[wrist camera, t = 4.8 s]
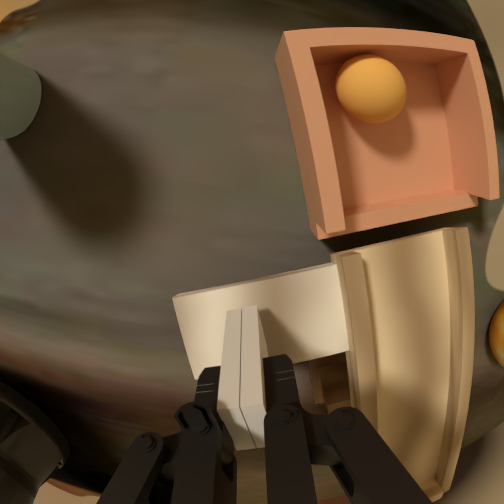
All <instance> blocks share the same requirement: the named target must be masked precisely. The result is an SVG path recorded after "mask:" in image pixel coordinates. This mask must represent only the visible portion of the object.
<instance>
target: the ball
mask: <svg viewBox="0 0 504 504" xmlns="http://www.w3.org/2000/svg"><path fill="white" fill-rule="evenodd" d="M335 89H336V94H337V97H338V100H339V102H340V103H341V105H342V106H343V108H344V109H345V110H346V111H347V112H348V113H349V114H350V115H352V116H353V117H355V118H356V119H358V120H361V121H364V122H368V123H382V122H386V121H388V120H390V119H392V118H394V117H395V116H396V115H397V114H398V113H399V112H400V111H401V110H402V108H403V106H404V104H405V101H406V84H405V81H404V79H403V76H402V75H401V73H400V71H399V70H398V69H397V68H396V67H395V66H394V65H393V64H392V63H391V62H389V61H388V60H386V59H384V58H382V57H379V56H376V55H369V54H365V55H358V56H355V57H353V58H351V59H349V60H348V61H346V62H345V63H344V64H343V65H342V66H341V68H340V69H339V71H338V73H337V76H336V81H335Z"/></svg>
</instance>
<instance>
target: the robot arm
mask: <svg viewBox="0 0 504 504" xmlns="http://www.w3.org/2000/svg"><path fill="white" fill-rule="evenodd" d="M197 385H198V386H197V389H196V395H195V401H194V402H190V403H187V404H185V405H183V406H181V407H180V408H179V409H178V410H177V411H176V413H175V416H174V417H175V418H176V420H177V422H178V423H179V425H180V426H181V428H182V431H180V432H178V433H176V434H173V435H170V436H166V437H163V438H162V437H161V436H160V435H159V434H157V433H155V432H147V433H143V434H141V435H139V436H138V437H136V438H135V440H134V441H133V442H132V444H131V446H130V447H129V449H128V451H127V452H126V454H125V456H124V457H123V459H122V461H121V463H120V464H119V466H118V468H117V469H116V471H115V473H114V475H113V476H112V478H111V480H110V481H109V483H108V485H107V486H106V488H105V490H104V492H103V493H102V495H101V497H100V499H99V500H98V502H97V504H236V493H237V461H236V457H235V455H234V454H233V453H234V446H235V448H236V450H246V449H255V448H256V447H257V448H262V447H265V461H266V481H267V501H268V504H317V498H316V492H315V486H314V480H313V474H312V468H311V464H316V465H329V466H330V467H331V469H332V471H333V473H334V474H335V476H336V478H337V480H338V481H339V483H340V485H341V486H342V488H343V490H344V492H345V493H346V495H347V496H348V498H349V500H350V502H351V503H352V504H433V503H432V502H431V500H430V499H429V498H428V496H427V495H426V494H425V493H424V491H423V490H422V489H421V488H420V486H419V485H418V484H417V482H416V481H415V480H414V479H413V477H412V476H411V475H410V473H409V472H408V471H407V470H406V468H405V467H404V466H403V464H402V463H401V462H400V461H399V459H398V458H397V457H396V455H395V454H394V453H393V452H392V450H391V449H390V448H389V446H388V445H387V444H386V443H385V441H384V440H383V439H382V437H381V436H380V435H379V434H378V432H377V431H376V430H375V428H374V427H373V426H372V424H371V423H370V422H369V421H368V419H367V418H366V417H365V415H364V414H363V413H362V412H361V411H360V410H359V409H357V408H353V407H341V408H337V409H335V410H334V411H332V412H330V414H329V415H315V414H311V413H308V412H307V411H305V410H304V409H303V408H302V406H301V404H300V400H299V395H298V390H297V385H296V379H295V374H294V369H293V364H292V360H291V359H290V358H289V357H288V356H287V355H286V354H281V355H276V356H271V357H268V350H267V344H266V340H265V336H264V332H263V328H262V324H261V320H260V316H259V311H258V307H257V305H255V306H250V307H245V308H242V309H241V308H240V309H235V310H229V311H227V313H226V322H225V331H224V341H223V350H222V360H221V366H214V367H207V368H204V370H203V371H202V372H201V374H200V375H199V378H198V384H197ZM69 453H70V445H69V443H68V441H67V439H66V437H65V436H64V434H63V433H62V432H61V430H60V429H59V428H58V427H57V426H56V424H55V423H54V422H53V421H52V420H51V419H50V418H49V417H48V416H47V415H46V414H45V413H44V412H43V411H42V410H40V409H39V408H38V407H37V406H36V405H35V404H33V403H32V402H31V401H30V400H29V399H27V398H26V397H25V396H23V395H22V394H20V393H19V392H18V391H16V390H15V389H13V388H11V387H10V386H8V385H6V384H4V383H2V382H0V504H33V502H34V499H35V497H36V494H37V492H38V490H39V488H40V487H41V486H42V485H43V484H44V483H45V482H46V481H47V480H48V479H49V478H50V477H51V476H53V475H54V474H55V473H56V471H57V470H58V469H59V468H61V467H62V466H63V465H64V464H65V462H66V460H67V458H68V456H69Z"/></svg>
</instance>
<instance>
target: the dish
mask: <svg viewBox="0 0 504 504" xmlns="http://www.w3.org/2000/svg"><path fill="white" fill-rule="evenodd" d="M365 54H369V55H376V56H379V57H382V58H384V59H386V60H388V61H389V62H391V63H392V64H393V65H394V66H395V67H396V68H397V69H398V70H399V71H400V73H401V75H402V76H403V79H404V81H405V84H406V101H405V104H404V106H403V108H402V110H401V111H400V112H399V113H398V114H397V115H396V116H395V117H394V118H392V119H390V120H388V121H386V122H382V123H368V122H364V121H361V120H358V119H356V118H355V117H353V116H352V115H350V114H349V113H348V112H347V111H346V110H345V109H344V108H343V106H342V105H341V103H340V102H339V100H338V97H337V94H336V89H335V81H336V76H337V73H338V71H339V69H340V68H341V66H342V65H343V64H344V63H345V62H346V61H348V60H349V59H351V58H353V57H355V56H358V55H365ZM275 61H276V65H277V69H278V73H279V77H280V81H281V85H282V90H283V94H284V98H285V102H286V107H287V111H288V115H289V120H290V124H291V129H292V134H293V138H294V143H295V148H296V153H297V158H298V163H299V168H300V173H301V179H302V184H303V189H304V195H305V200H306V206H307V212H308V218H309V224H310V230H311V231H312V232H313V234H314V235H315V236H316V237H317V239H318V240H320V239H325V238H329V237H334V236H339V235H343V234H348V233H353V232H358V231H362V230H367V229H372V228H377V227H381V226H386V225H391V224H395V223H400V222H405V221H409V220H414V219H419V218H424V217H428V216H433V215H438V214H442V213H447V212H452V211H456V210H461V209H466V208H470V207H475V206H478V197H482V198H485V199H488V200H492V199H497V198H499V175H498V160H497V149H496V140H495V132H494V125H493V118H492V112H491V107H490V101H489V96H488V91H487V87H486V82H485V78H484V74H483V70H482V66H481V63H480V59H479V55H478V52H477V49H476V45H475V42H474V40H470V39H465V38H460V37H455V36H450V35H444V34H437V33H430V32H423V31H414V30H403V29H390V28H365V27H343V28H318V29H304V30H293V31H284V32H283V35H282V38H281V40H280V43H279V46H278V49H277V52H276V55H275Z"/></svg>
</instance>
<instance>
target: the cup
mask: <svg viewBox="0 0 504 504" xmlns="http://www.w3.org/2000/svg"><path fill="white" fill-rule="evenodd" d="M41 92H42V88H41V82H40V78H39V76H38V74H37V73H36V72H35V71H34V70H33V69H31V68H29V67H27V66H25V65H23V64H21V63H19V62H17V61H15V60H13V59H11V58H8V57H6V56H4V55H2V54H0V140H4V139H8V138H12V137H15V136H17V135H19V134H21V133H22V132H24V131H25V130H26V129H27V128H28V126H29V125H30V124H31V122H32V121H33V119H34V117H35V115H36V113H37V111H38V108H39V105H40V100H41Z"/></svg>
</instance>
